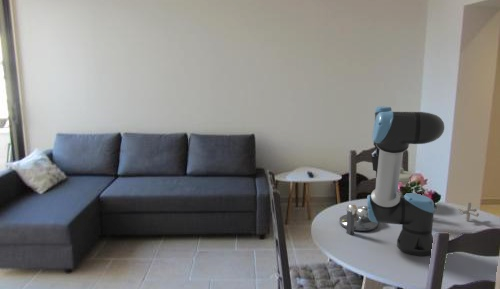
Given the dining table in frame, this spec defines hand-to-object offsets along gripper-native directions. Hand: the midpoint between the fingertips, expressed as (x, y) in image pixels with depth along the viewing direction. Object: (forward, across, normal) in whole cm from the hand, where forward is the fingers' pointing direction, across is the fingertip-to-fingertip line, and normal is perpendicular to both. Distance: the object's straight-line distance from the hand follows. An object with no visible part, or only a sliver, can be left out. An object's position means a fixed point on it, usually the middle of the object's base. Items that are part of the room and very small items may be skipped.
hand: (379, 183), depth 194 cm
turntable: (+18, +14, 0) cm, 23 cm away
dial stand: (+18, +26, +5) cm, 32 cm away
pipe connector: (+19, -34, +28) cm, 47 cm away
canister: (+19, -26, -7) cm, 33 cm away
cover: (+16, +10, 0) cm, 19 cm away
